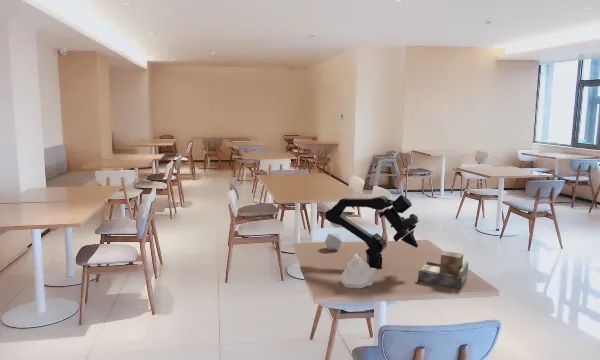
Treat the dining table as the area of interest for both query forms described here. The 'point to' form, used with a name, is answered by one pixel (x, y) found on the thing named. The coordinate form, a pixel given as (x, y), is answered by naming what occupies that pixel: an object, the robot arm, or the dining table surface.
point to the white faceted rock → (357, 273)
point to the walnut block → (451, 263)
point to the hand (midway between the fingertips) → (417, 247)
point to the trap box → (442, 275)
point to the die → (333, 241)
